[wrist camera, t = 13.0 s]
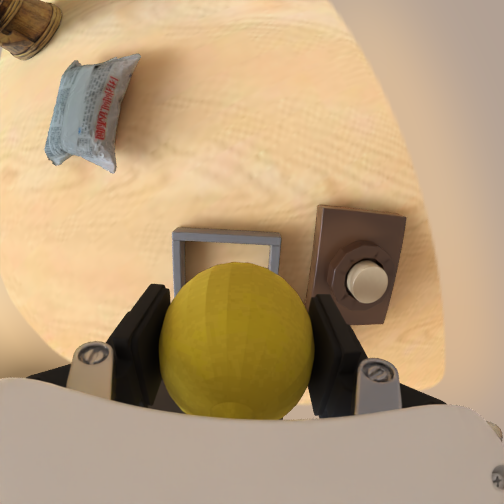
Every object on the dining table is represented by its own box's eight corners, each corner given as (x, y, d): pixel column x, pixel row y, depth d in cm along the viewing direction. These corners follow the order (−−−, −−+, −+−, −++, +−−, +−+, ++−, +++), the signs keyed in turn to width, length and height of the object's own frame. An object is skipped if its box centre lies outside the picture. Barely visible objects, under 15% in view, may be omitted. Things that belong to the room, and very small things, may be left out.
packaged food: (149, 63, 22) (130, 46, 17) (123, 173, 25) (98, 175, 21) (83, 65, 21) (59, 54, 17) (60, 165, 25) (33, 167, 20)
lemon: (283, 226, 13) (329, 319, 5) (304, 326, 14) (340, 454, 7) (170, 254, 13) (89, 359, 6) (205, 346, 15) (178, 472, 7)
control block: (317, 204, 26) (328, 210, 23) (396, 213, 27) (416, 220, 23) (303, 315, 30) (310, 335, 26) (376, 315, 30) (389, 332, 26)
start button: (349, 259, 24) (356, 265, 23) (383, 260, 24) (391, 267, 23) (343, 295, 25) (348, 303, 24) (376, 295, 25) (383, 303, 24)
